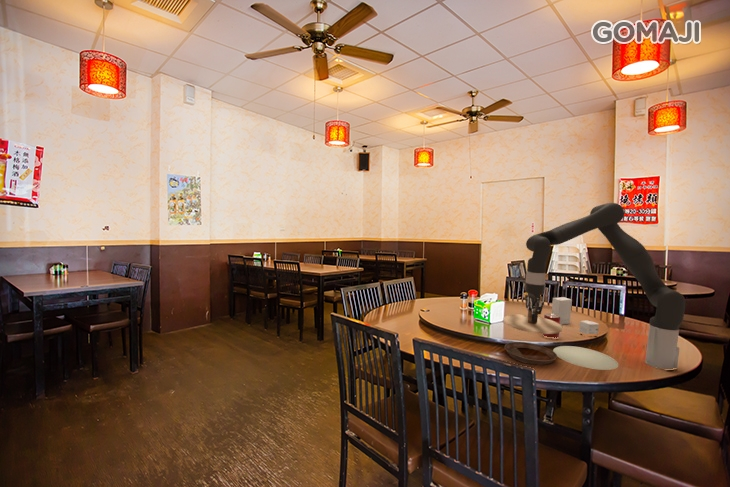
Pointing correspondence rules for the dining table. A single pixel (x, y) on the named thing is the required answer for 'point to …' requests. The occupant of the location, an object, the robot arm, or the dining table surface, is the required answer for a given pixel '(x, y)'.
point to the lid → (533, 324)
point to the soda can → (553, 318)
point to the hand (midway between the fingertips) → (532, 320)
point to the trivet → (585, 357)
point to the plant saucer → (516, 354)
